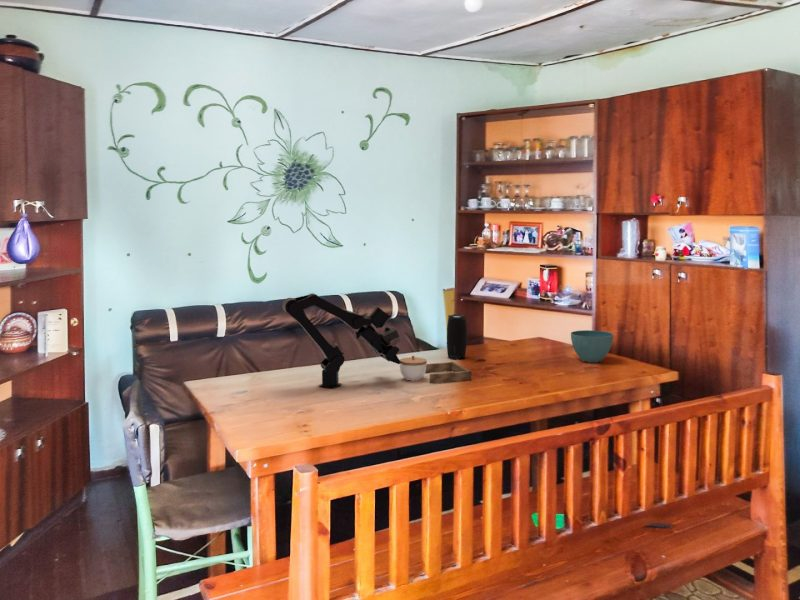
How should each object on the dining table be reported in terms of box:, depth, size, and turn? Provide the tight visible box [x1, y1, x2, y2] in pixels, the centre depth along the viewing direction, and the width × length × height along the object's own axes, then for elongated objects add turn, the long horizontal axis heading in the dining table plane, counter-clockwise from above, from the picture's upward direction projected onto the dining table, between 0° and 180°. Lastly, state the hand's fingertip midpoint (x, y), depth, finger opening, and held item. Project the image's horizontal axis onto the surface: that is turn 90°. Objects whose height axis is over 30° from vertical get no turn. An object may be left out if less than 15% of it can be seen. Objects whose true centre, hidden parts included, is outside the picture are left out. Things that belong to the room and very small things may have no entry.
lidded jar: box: [399, 355, 428, 382], centre depth 283 cm, size 11×11×9 cm
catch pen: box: [425, 361, 472, 384], centre depth 288 cm, size 17×18×4 cm
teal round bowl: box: [570, 329, 614, 363], centre depth 317 cm, size 18×18×12 cm
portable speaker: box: [446, 313, 468, 361], centre depth 322 cm, size 9×9×20 cm
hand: (399, 363), depth 281 cm, fingers closed
